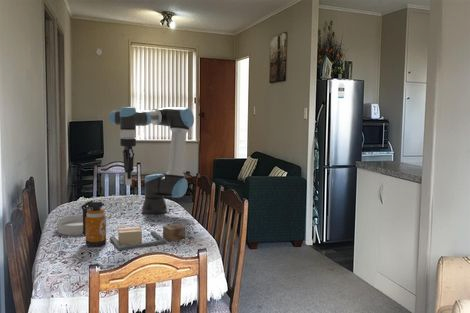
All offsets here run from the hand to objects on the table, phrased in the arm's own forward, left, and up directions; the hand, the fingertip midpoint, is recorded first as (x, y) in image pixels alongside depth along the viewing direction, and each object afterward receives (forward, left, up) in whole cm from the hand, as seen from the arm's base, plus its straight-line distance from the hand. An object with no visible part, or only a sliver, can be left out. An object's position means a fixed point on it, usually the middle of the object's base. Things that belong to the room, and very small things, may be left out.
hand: (128, 184), depth 203 cm
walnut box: (-17, +20, -24) cm, 36 cm away
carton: (+4, +16, -24) cm, 29 cm away
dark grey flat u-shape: (0, +17, -24) cm, 30 cm away
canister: (+19, +12, -24) cm, 33 cm away
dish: (+21, -16, -25) cm, 36 cm away
